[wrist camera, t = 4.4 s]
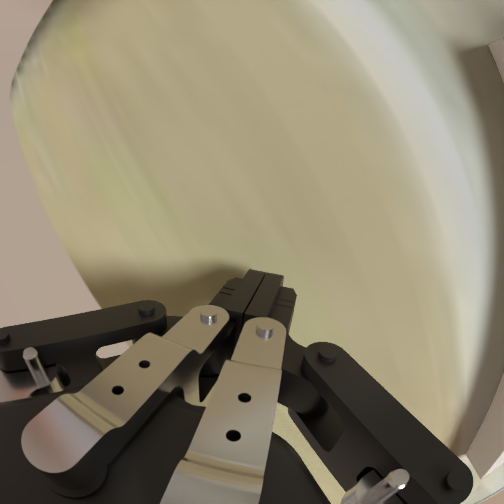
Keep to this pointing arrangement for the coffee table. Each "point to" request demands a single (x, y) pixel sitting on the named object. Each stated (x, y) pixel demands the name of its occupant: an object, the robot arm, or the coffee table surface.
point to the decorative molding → (500, 411)
